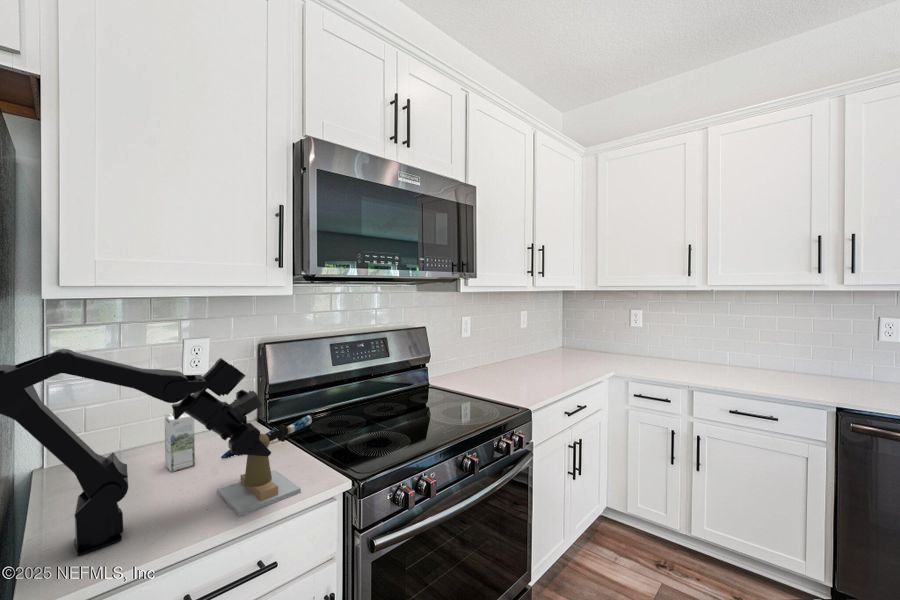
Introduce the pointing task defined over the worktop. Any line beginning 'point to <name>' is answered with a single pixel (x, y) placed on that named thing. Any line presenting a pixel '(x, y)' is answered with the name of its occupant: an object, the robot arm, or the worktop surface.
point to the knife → (281, 432)
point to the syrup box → (179, 442)
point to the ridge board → (250, 501)
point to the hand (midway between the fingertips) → (264, 448)
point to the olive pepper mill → (258, 467)
